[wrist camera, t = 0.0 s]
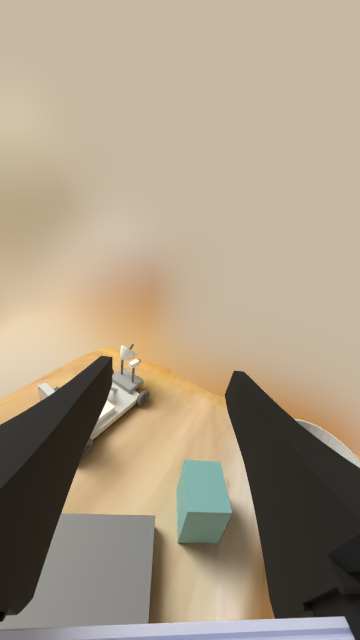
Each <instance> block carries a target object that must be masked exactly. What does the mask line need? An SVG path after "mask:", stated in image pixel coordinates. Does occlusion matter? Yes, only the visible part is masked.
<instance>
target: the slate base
mask: <svg viewBox="0 0 360 640" xmlns="http://www.w3.org/2000/svg"><path fill="white" fill-rule="evenodd" d="M154 526H155V516H147V515H102V514H61V515H60V518H59V521H58V524H57V527H56V530H55V532H54V535H53V538H52V541H51V544H50V547H49V550H48V553H47V557H46V560H45V563H44V566H43V569H42V572H41V575H40V578H39V581H38V584H37V587H36V590H35V594H34V597H33V599H32V600H31V601H30V602H29V604H28V605H27V606H26V607H25V608H24V609H23V610H22V611H21V612H20V613H19V614H18V615H7V616H6V617H5V619H4V620H3V622H0V629H21V628H48V627H75V626H101V625H128V624H148V621H149V605H150V589H151V574H152V558H153V542H154Z"/></svg>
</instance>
